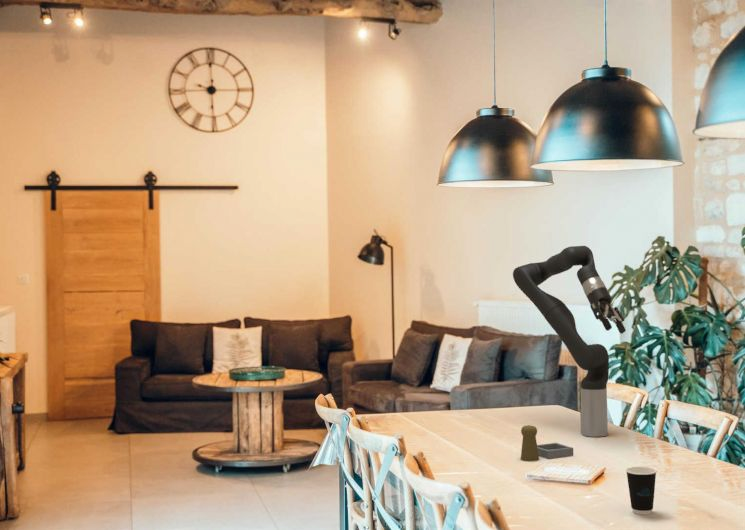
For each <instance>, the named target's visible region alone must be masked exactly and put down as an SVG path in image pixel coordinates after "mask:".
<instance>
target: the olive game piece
mask: <svg viewBox="0 0 745 530" xmlns="http://www.w3.org/2000/svg"><path fill="white" fill-rule="evenodd" d="M520 433H521V435H522V441H521V451H520V452H521V454H520V460H521V461H524V462H536V461H539V460H540V456H539V455H538V448H537V445H538V443H537V437H536V436H537V433H538V428H537V427H536V426H534V425H531V424H530V425H529V424H528V425H524V426H522V427H521V430H520Z"/></svg>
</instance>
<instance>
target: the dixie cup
mask: <svg viewBox="0 0 745 530" xmlns="http://www.w3.org/2000/svg"><path fill="white" fill-rule="evenodd" d="M625 472H626V476H627V485H628V491H629V498H630V507H631V509H632V512H633V514H637V515H650V514H652V513H653V509H654V501H655V491H656V490H655V488H656V477H657V472H658V470H657V469H656V468H654V467H649V466H631V467H627V468H625Z"/></svg>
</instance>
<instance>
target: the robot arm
mask: <svg viewBox="0 0 745 530" xmlns="http://www.w3.org/2000/svg"><path fill="white" fill-rule="evenodd" d="M574 266H575V267H576V266H581V267H580V268H579V269H578V270H577V273H576V276H577V279H578V281H579V283H580V285H581V287H582V290H583V292H584V294H585V297H586V298H587V300H588V302H589V304H590V305H589V307H590V309H591V312H592V313H593V315H594V317H595V320H599V322H601V323H602V325H603V327H604V329H605V331H607V332H608V331H610V330H612V329H613V328H612V327H613V326H612V324H611V322H613V323H614V324H615V327H616V328H617V330H618V332H619V334H620V335H621V334H624V333H626V327H625V326H624V323H623V322H624V321H625V317H624V316H623V315H622V313H621V311H620V310H619V307H618V306H615V307H613V306H612V304H611V303H612V296H611V294H610V291H609V290H608V288H607V287H606V285H605V282H604V281H603V280H602V278H601V276H600V275H599V273H598V271H597V269H596V264H595V259H594V254H593V251H592V249H591V248H589V247H588V246H586V245H575V246H573V245H572V246H568V247H565V248H563V249H562V250H561V251H560V252H559V253H556V254H554V255H552V256H550V257H549V258H547V259H546V260H545V261H540V262H530V263H527V264H524V265H521V266H517V267H516V268H514V269H513V272H512V278H513V281H514V283H515V284H516V286H517V287H518V289H519V290H520V291H521V292H522V293H523V294H524V295H525V296H526V297H527V298H528V299H529V300H530V302H532V303H533V305H534V307H536V309H538V312H540V314H542V316H543V318H544V319H545V320H546V322H547V323H548V324H549V325H550V327H551V329H553V330H554V332H555V333H556V335H557V336H558V337H559V339H560V340H561V341H562V343H563V344H564V346H565V347H566V348H567V350H568V351H569V353H570V355H571V357H572V358H573V360H574V362H575V364H577V366H578V367H579V368H580V369H582V370H583V371H587V373H586V375H585V376H584V377H583V379H581V381H580V395H581V396H580V404H581V407H580V409H579V411H580V416H579V417H580V434H581V435H582V436H583V437H593V438H600V437H607V436H608V435H609V431H608V429H609V428H608V395H607V394H608V390H607V389H608V388H607V387H608V381H609V373H610V372H609V370H610V369H609V368H610V358H609V351H608V350H607V349H606V347H605V345H602V344H600V343H593V344H588V343H586V341H584V340H583V338H582V337H581V336H580V334H579V333H578V330H577V324H576V320H575V317H574V314H573V313H572V311H571V310H570V309H569V308H568V306H567V305H566V304H565V302H564V301H562V300H560V299H559V298H558V297H555V296H553V295H551V294H549V293H547V292H545V291H544V290H543V289H541V288H540V287H539V286H540V285H542V283H544V282H545V281H547V280H548V279H550V278H551V277H552V276H555V275H559V274H562V273H564V272H566V271H569V270H571V269H572V268H573V267H574Z"/></svg>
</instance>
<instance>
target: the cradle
mask: <svg viewBox="0 0 745 530" xmlns="http://www.w3.org/2000/svg"><path fill="white" fill-rule="evenodd" d="M537 448H538V455H539V458H540V457H541V458H544V459H546V460H551V459H559V458H565V457H572V456H574V447H571V446H568V445H565V444H561V443H558V442H550V443H545V444H543V443H542V444H537Z"/></svg>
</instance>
